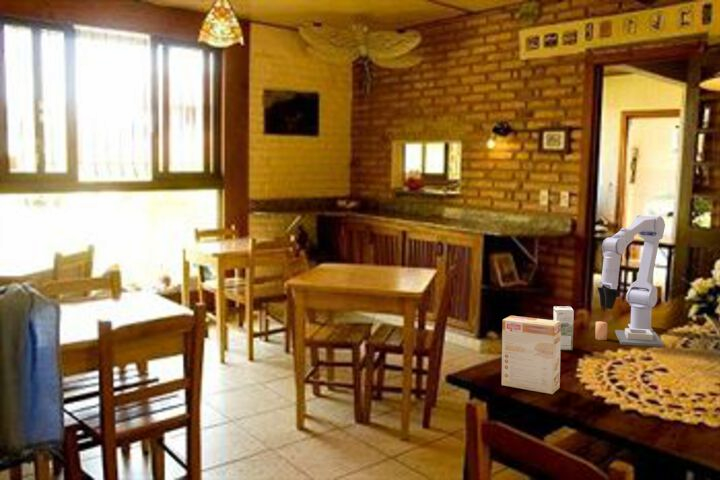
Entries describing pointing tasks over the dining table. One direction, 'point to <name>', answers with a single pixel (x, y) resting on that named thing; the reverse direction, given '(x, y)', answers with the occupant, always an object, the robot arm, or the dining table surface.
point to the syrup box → (565, 325)
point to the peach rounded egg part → (601, 331)
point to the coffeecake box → (531, 354)
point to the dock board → (638, 337)
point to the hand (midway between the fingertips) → (606, 307)
